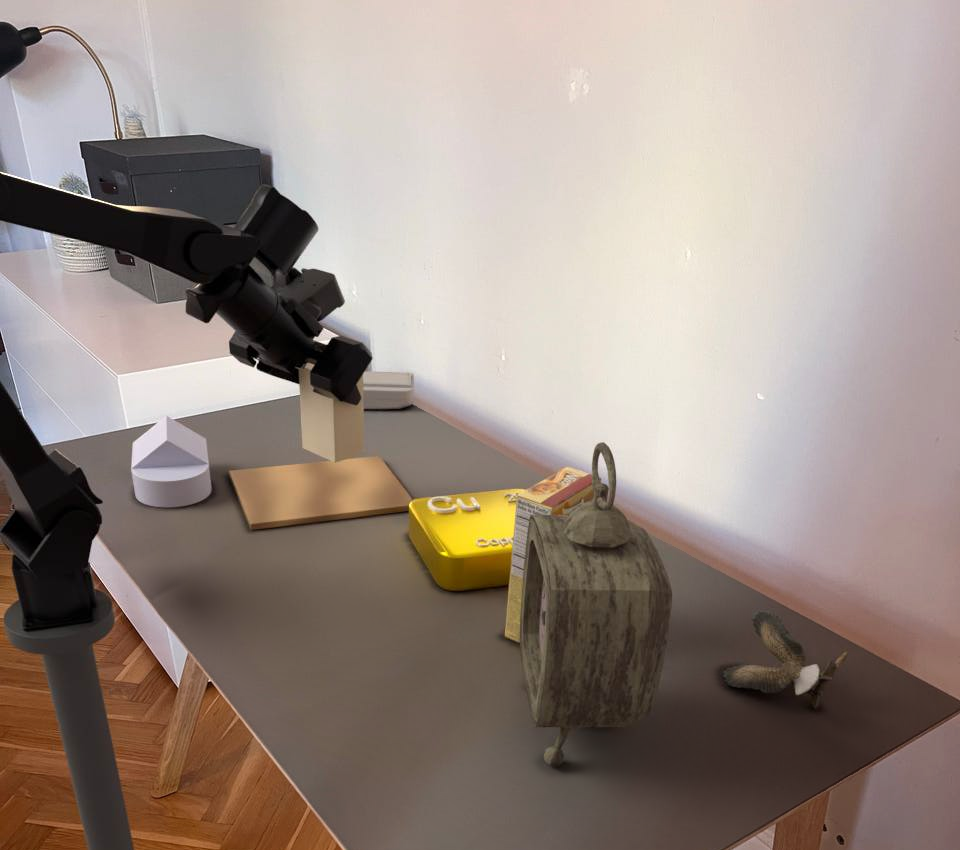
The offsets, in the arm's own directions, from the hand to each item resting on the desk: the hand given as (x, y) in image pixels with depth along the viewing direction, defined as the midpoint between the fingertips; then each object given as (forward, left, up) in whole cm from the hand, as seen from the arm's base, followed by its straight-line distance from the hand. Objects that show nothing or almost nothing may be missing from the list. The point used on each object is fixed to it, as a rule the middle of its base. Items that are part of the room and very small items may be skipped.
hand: (340, 394), depth 109 cm
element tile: (+12, -18, -14) cm, 26 cm away
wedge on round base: (-19, +10, -14) cm, 26 cm away
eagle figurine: (+28, -50, -14) cm, 59 cm away
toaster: (-1, -1, -7) cm, 7 cm away
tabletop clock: (+8, -49, -14) cm, 52 cm away
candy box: (+12, -34, -14) cm, 39 cm away
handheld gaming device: (+13, +35, -9) cm, 38 cm away
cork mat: (-2, +3, -13) cm, 14 cm away
